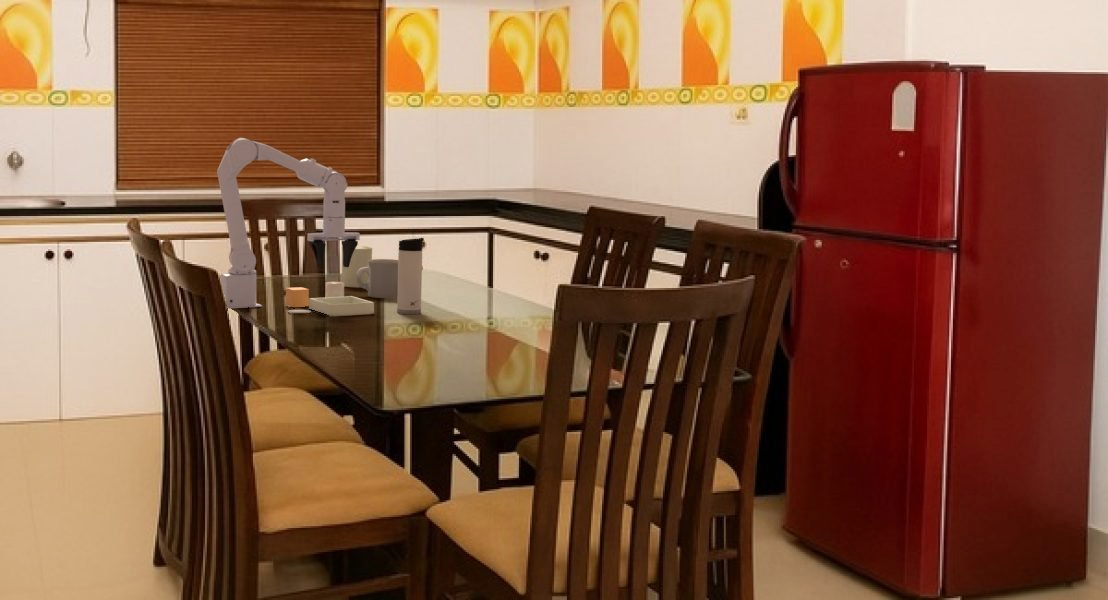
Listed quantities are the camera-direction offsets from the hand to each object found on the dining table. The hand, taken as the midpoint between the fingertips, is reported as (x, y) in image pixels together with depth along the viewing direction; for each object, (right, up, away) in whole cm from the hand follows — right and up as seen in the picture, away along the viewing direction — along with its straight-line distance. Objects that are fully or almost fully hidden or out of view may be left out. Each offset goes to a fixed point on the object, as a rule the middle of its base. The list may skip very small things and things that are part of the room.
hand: (333, 267), depth 372 cm
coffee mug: (+9, -8, +25) cm, 27 cm away
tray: (+3, -12, -9) cm, 15 cm away
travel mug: (+21, -12, -6) cm, 25 cm away
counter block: (-9, -11, -3) cm, 14 cm away
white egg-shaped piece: (0, -10, +3) cm, 11 cm away
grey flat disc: (-7, -13, -13) cm, 19 cm away
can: (0, -5, +45) cm, 45 cm away
